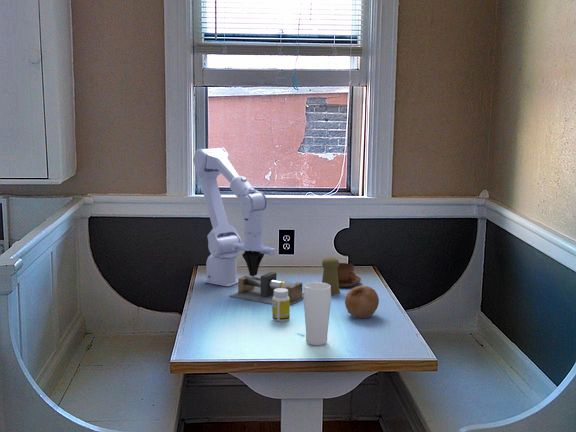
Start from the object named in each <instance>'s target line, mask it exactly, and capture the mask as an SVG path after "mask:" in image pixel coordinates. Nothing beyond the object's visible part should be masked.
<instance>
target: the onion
mask: <svg viewBox="0 0 576 432" xmlns="http://www.w3.org/2000/svg"><path fill="white" fill-rule="evenodd" d="M379 303H380V299H379V295H378V293H377V292H376V290H375V289H374V288H372V287H371V286H369V285H357V286H355V287H353V288H351V289H350V290H349V291H348V292H347V294H346V295H345V299H344V304H345V310H347V313H348V314H349V315H352V316H353V317H354V318H356V319H365V318H368V317H370V316H372V315H374V314H375V312H376V311H377V309H378V307H379Z"/></svg>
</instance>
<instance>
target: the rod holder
mask: <svg viewBox="0 0 576 432" xmlns="http://www.w3.org/2000/svg"><path fill="white" fill-rule="evenodd" d="M237 279H238V283H237V285H238V286H237V290H238V293H242V294H244V293H246V292H248V291H250V290H252V289H254V287H260V288H261V276H260V277H259V276H250V274H245V275H244V276H242V277H239V278H237ZM277 288H285V289H288V296H289V298H290V302H291V303H292V302H294V301H296V300H298V299H300V298H302V293H303V282H300V281H296V282H288V281H285V280H278V279H276V280H271V279H269V280H268V289H271V290H274V289H277Z"/></svg>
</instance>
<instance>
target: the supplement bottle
mask: <svg viewBox="0 0 576 432" xmlns="http://www.w3.org/2000/svg"><path fill="white" fill-rule="evenodd" d="M271 306H272V307H271V308H272V309H271V311H272V314H271V315H272V320H273V321H275V322H280V323H282V322H287V321H289V320H290V315H291V314H290V311H291V310H290V307H291V305H290V298H289V296H288V289H285V288H277V289H274V296H273V298H272V304H271Z"/></svg>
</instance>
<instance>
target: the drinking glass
mask: <svg viewBox="0 0 576 432" xmlns="http://www.w3.org/2000/svg"><path fill="white" fill-rule="evenodd" d="M303 293H304V298H303V308H304V310H303V311H304V321H305V322H304V323H305V341H306V343H307V344H308V345H310V346H314V347H321V346H324V345H327V343H328V334H329V333H328V332H329V325H330V324H329V323H330V313H331V306H332V305H331V303H332V295H331V286H330V285H329V284H327V283H323V282H322V281H313V282H312V281H311V282H307V283H305V284H304V286H303Z"/></svg>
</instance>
